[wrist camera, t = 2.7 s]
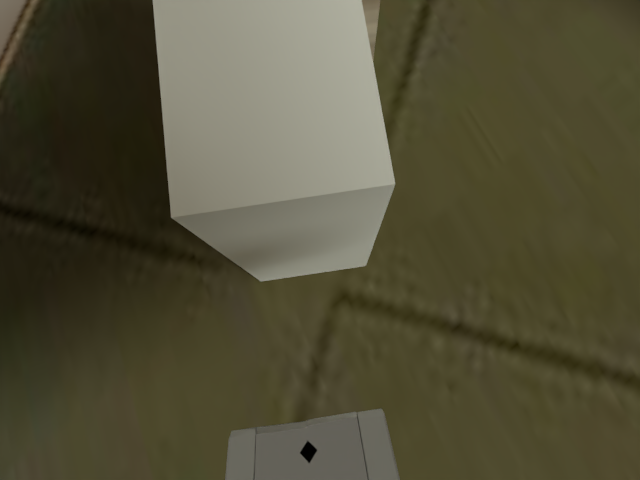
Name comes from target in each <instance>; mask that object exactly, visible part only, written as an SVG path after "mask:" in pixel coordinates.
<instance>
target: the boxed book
mask: <svg viewBox="0 0 640 480" xmlns="http://www.w3.org/2000/svg"><path fill="white" fill-rule="evenodd" d="M153 10H154V22H155V33H156V45H157V57H158V69H159V81H160V93H161V104H162V116H163V128H164V140H165V152H166V164H167V175H168V187H169V199H170V211H171V218H172V219H174V220H175V221H176V222H178V223H179V224H181V225H182V226H183V227H185V228H186V229H188V230H189V231H191V232H192V233H193V234H195V235H196V236H198V237H199V238H200V239H202V240H203V241H205V242H206V243H207V244H209V245H210V246H212V247H213V248H214V249H216V250H217V251H219V252H220V253H222V254H223V255H224V256H226V257H227V258H229V259H230V260H231V261H233V262H234V263H236V264H237V265H238V266H240V267H241V268H243V269H244V270H245V271H247V272H248V273H250V274H251V275H252V276H254V277H255V278H257V279H258V280H260V281H268V280H274V279H281V278H288V277H294V276H301V275H308V274H315V273H321V272H328V271H335V270H342V269H348V268H355V267H362V266H366V264H367V261H368V258H369V256H370V253H371V250H372V247H373V244H374V242H375V239H376V236H377V233H378V231H379V228H380V225H381V222H382V219H383V217H384V214H385V211H386V208H387V206H388V203H389V200H390V197H391V194H392V192H393V189H394V186H395V180H394V175H393V169H392V164H391V158H390V153H389V147H388V142H387V136H386V131H385V125H384V120H383V115H382V109H381V104H380V98H379V93H378V87H377V82H376V76H375V71H374V65H373V60H372V54H371V49H370V43H369V38H368V32H367V27H366V22H365V16H364V11H363V5H362V0H153Z"/></svg>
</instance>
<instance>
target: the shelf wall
mask: <svg viewBox="0 0 640 480" xmlns="http://www.w3.org/2000/svg"><path fill="white" fill-rule="evenodd" d="M362 5H363V11H364V16H365V22H366V27H367V32H368V38H369V43H370V49H371V54H372V60H373V57H374V49H375V40H376V32H377V24H378V15H379V7H380V0H362Z"/></svg>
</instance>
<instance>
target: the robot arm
mask: <svg viewBox="0 0 640 480" xmlns="http://www.w3.org/2000/svg"><path fill="white" fill-rule="evenodd" d="M225 480H400V478H399V474H398V469H397V465H396V461H395V457H394V452H393V448H392V444H391V439H390V435H389V431H388V427H387V422H386V418H385V414H384V412H383V410H382V408H381V409H375V410H369V411H363V412H357V414H356V412H352V413H346V414H340V415H334V416H328V417H322V418H316V419H310V420H307V421H302V422H295V423H287V424H279V425H272V426H264V427H255V428H248V429H242V430H235V431H231V434H230V438H229V443H228V454H227V466H226V477H225Z"/></svg>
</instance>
